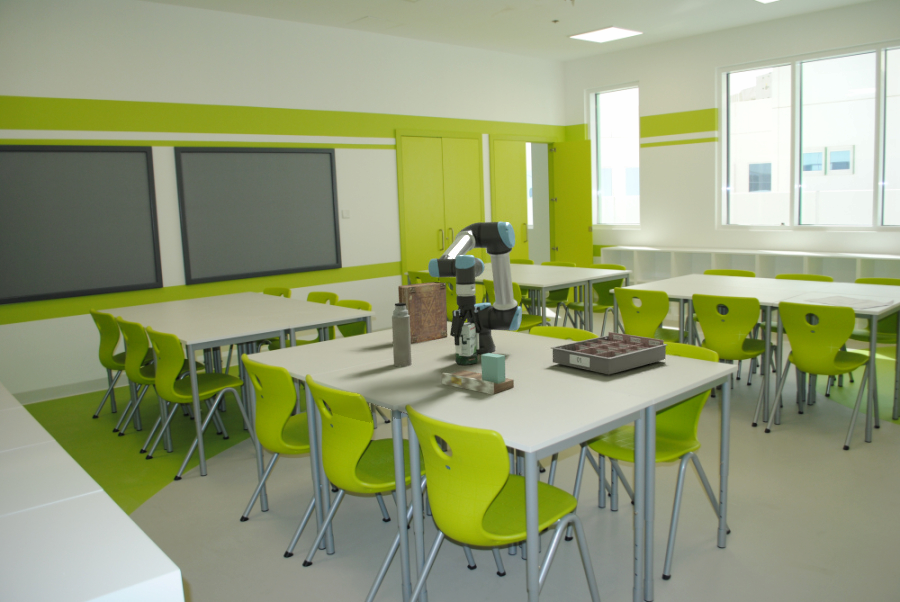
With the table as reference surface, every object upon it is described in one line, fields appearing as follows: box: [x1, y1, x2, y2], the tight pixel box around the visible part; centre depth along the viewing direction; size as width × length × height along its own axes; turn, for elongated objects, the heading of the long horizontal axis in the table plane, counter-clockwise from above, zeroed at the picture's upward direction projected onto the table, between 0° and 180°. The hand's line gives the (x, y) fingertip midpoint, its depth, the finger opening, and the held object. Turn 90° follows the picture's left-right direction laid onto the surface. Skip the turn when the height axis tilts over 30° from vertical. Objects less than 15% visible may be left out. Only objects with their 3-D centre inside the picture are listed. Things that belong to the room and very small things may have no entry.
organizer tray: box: [550, 331, 668, 375], centre depth 288 cm, size 32×40×10 cm
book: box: [398, 281, 448, 345], centre depth 355 cm, size 25×9×30 cm, turn 130°
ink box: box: [459, 322, 476, 356], centre depth 260 cm, size 9×5×12 cm, turn 161°
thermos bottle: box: [391, 302, 412, 367], centre depth 297 cm, size 8×8×28 cm
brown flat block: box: [441, 369, 515, 395], centre depth 258 cm, size 26×13×4 cm, turn 47°
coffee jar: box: [455, 321, 479, 366], centre depth 296 cm, size 10×8×19 cm
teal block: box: [480, 352, 506, 384], centre depth 253 cm, size 8×4×10 cm, turn 47°
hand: (467, 351), depth 261 cm, fingers closed on ink box, 9 cm apart
